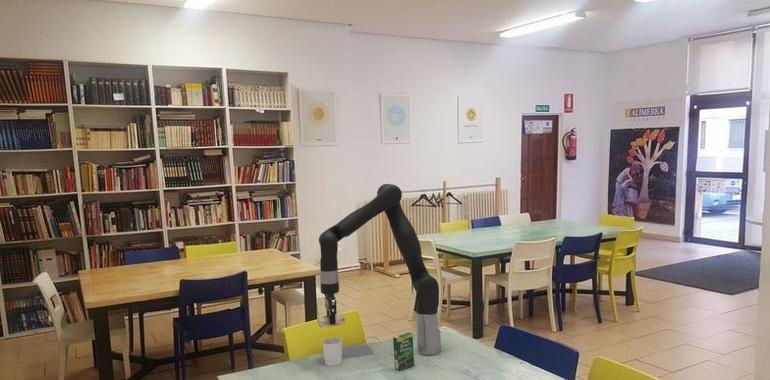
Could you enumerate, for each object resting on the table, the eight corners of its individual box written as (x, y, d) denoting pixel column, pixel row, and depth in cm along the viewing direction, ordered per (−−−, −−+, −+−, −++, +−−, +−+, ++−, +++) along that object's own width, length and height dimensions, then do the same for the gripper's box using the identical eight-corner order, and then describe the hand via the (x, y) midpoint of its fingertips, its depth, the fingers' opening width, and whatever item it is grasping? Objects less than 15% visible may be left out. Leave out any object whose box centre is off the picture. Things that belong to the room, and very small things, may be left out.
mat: (367, 346, 218) (367, 344, 218) (374, 356, 206) (374, 353, 206) (336, 351, 214) (336, 349, 214) (342, 361, 202) (341, 359, 202)
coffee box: (398, 371, 190) (396, 338, 190) (394, 368, 193) (392, 336, 192) (414, 366, 194) (413, 333, 194) (410, 363, 197) (409, 331, 196)
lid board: (341, 319, 203) (341, 313, 203) (344, 324, 197) (344, 318, 197) (317, 322, 200) (317, 316, 200) (320, 327, 194) (319, 321, 194)
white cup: (339, 369, 194) (338, 344, 194) (321, 368, 196) (319, 344, 196) (345, 361, 202) (344, 337, 202) (327, 360, 204) (326, 337, 203)
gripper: (342, 283, 192) (343, 325, 193) (335, 276, 206) (336, 315, 206) (323, 285, 190) (324, 328, 191) (317, 278, 204) (319, 317, 204)
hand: (331, 321), depth 199 cm, fingers closed on lid board, 6 cm apart
